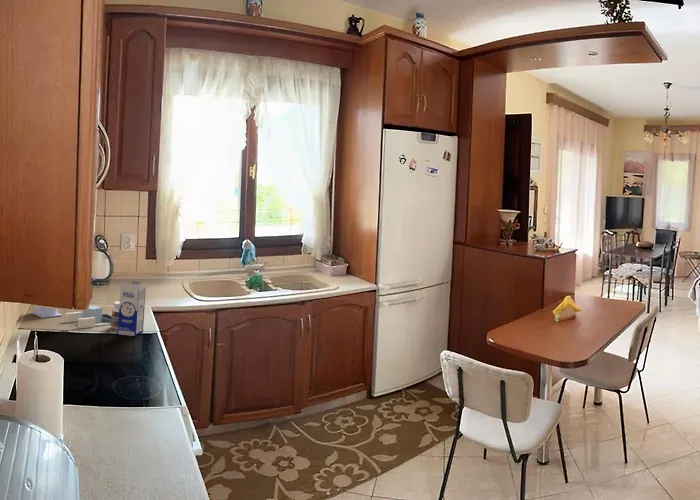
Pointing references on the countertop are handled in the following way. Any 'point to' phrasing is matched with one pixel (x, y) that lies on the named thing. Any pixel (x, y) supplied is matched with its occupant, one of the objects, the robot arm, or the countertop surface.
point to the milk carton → (131, 309)
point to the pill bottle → (115, 315)
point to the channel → (82, 320)
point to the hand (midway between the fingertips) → (74, 299)
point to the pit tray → (106, 318)
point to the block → (93, 313)
